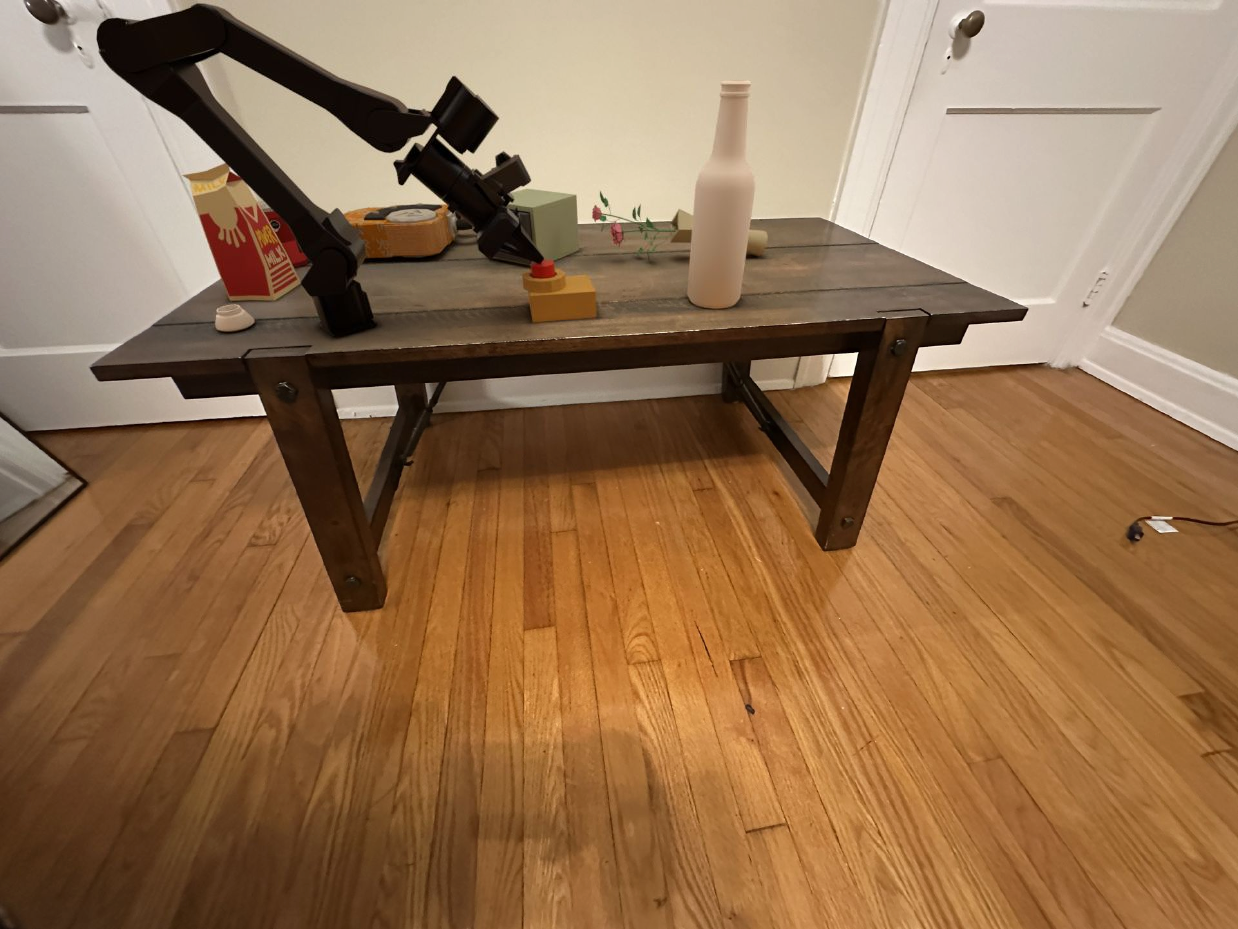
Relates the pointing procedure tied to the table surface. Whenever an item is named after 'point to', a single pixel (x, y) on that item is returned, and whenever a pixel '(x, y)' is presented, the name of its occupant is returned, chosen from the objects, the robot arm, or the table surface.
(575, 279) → the control block
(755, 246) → the flower vase
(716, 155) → the alcohol
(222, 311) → the lidless jar
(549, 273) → the button
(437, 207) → the device
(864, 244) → the table surface
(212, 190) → the milk carton
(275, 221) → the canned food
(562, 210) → the drawer cabinet
